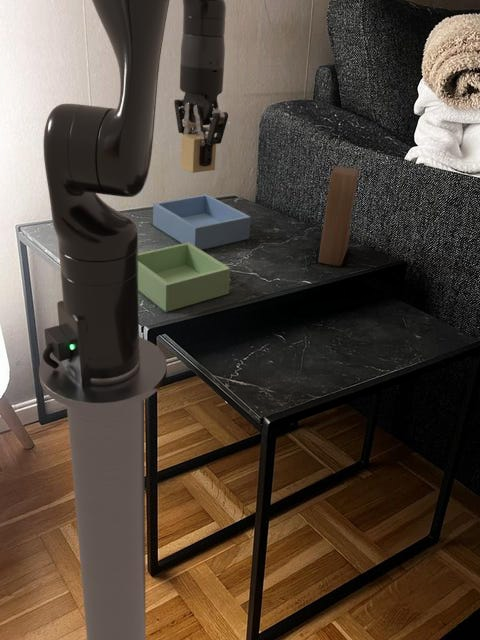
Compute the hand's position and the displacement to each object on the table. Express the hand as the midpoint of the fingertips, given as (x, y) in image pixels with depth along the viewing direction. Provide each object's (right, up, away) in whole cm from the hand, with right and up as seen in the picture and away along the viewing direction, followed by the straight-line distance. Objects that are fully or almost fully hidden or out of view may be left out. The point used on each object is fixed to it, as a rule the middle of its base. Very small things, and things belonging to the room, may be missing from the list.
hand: (198, 162), depth 113 cm
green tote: (-3, -24, -9) cm, 25 cm away
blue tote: (0, -11, +14) cm, 18 cm away
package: (0, -1, +1) cm, 1 cm away
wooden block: (+26, -17, +8) cm, 32 cm away
